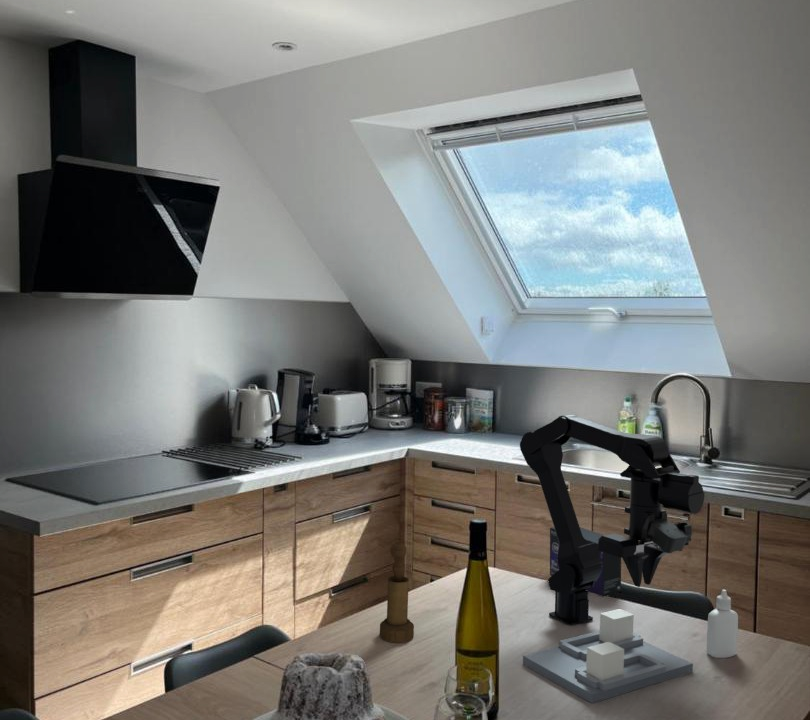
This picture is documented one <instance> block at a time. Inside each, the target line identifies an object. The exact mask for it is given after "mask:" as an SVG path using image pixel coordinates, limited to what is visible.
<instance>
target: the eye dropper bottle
mask: <svg viewBox="0 0 810 720" xmlns="http://www.w3.org/2000/svg"><path fill="white" fill-rule="evenodd" d="M731 608H732V599H731V597H730V596H728V593H727V590H726V589H722V590H721V592H720V595H717V596H716V608H714V609H713V610H711V611H710V612H709V613H708V616H707V629H706V630H707V631H706V654H707V655H709V656H710V657H713V658H716V659H725V658H731V657H733V656H736V654H737V653H738V634H739V633H738V632H739V631H738V630H739V629H738V628H739V615H738V613H737V612H736V611H735V610H732V609H731Z"/></svg>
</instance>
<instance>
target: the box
mask: <svg viewBox="0 0 810 720" xmlns="http://www.w3.org/2000/svg"><path fill="white" fill-rule="evenodd" d="M579 527H580V526H579ZM580 530H581V533H582V535H583V537H584V539H585V540H586V541H587V542H588V543H589V544H591V543H596V545H597V547H598V539H599V538H600V537H601V536H603V535H604V534H602V533H599V532H595V531H592V530H590V529H586V528H583V527H580ZM558 550H559V540H558V537H557V534H556V531H555V528H554V526H552V527H550V528H549V576H550V577H551V576H552V575H553V574H555V573H556V572H557V571H558V570H559V567H558V561H557V556H558ZM598 552H599V555H600V558H601V559H602V560H603V562H602V563H601V566H602V572H601V574H600V576H599V578H598V579H597V580H596V581H595V583H594V586H593V587H589V588H586V590H587V591H588V592H590V593H593V594H595V595H598V596H600V597H606V596H610V595H612V594H616V593H617V594H618V593H621V592H622V557H616V556H614V555H611V554H608V553H605V552H602V551H599V550H598Z"/></svg>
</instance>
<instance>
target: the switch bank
mask: <svg viewBox="0 0 810 720" xmlns="http://www.w3.org/2000/svg"><path fill="white" fill-rule="evenodd" d="M599 636H600V630H596V631H593V632H588V633H585V634H580V635H578V636H573V637H568V638H565V639H561V640H559V641H558V646H554V647H552V648H551V647H550V648H548V649H544V650H540V651H537V652H531V653H528V654H524V655H522V665H524V666H526V667H527V668H529V669H531V670H532V671H535V672H536V673H538V674H540V675H541V676H543V677H545V678H546V679H548V680H551V682H554V683H555V684H557V685H559V686H560V687H563V688H564V689H566V690H568V691H570V692H572V693H573V694H575V695H577V696H578V697H580V698H582V699H584V700H585V701H587V702H589V703H591V704H595V703H597V702H601V701H604V700H606V699H607V700H608V699H610V698H613V697H616V696H619V695H623V694H626V693H630V692H631V691H632V692H633V691H635V690H640V689H642V688H644V687H648V686H651V685H654V684H655V685H656V684H658V683H661V682H664V681H667V680H671V679H674V678H677V677H681V676H683V675H686V674H690V673H693V670H694V668H693V667H694V663H693V662H691V661H689V660H686V659H684V658H682V657H680V656H677V655H675V654H674V653H671V652H669V651H666V650H664V649H662V648H660V647H657V646H656V645H654V644H651V643H649V642H647V641H644V638H643V637H641V636H642V635H641V634H638V633H636V632H634V631H633V638H630V639H626V640H622V641H618V642H614V643H613V644H615V645H617V646H619V647H621V648H623V649H624V669H623V675H620V676H617V677H614V678H610V679H607V680H604V681H600V680H598V679H597V678H595V677H593V676H591V675H589V674H587V673H586V663H587V647H591V646H594V645H598V644H602V643H605V642H603V641H601V640H599Z"/></svg>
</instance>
